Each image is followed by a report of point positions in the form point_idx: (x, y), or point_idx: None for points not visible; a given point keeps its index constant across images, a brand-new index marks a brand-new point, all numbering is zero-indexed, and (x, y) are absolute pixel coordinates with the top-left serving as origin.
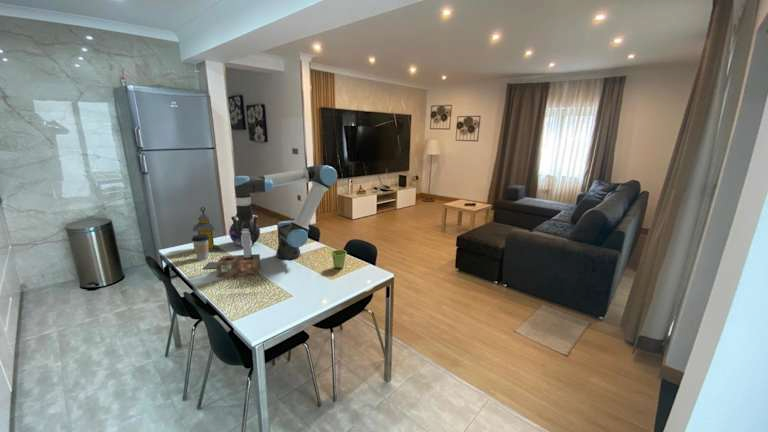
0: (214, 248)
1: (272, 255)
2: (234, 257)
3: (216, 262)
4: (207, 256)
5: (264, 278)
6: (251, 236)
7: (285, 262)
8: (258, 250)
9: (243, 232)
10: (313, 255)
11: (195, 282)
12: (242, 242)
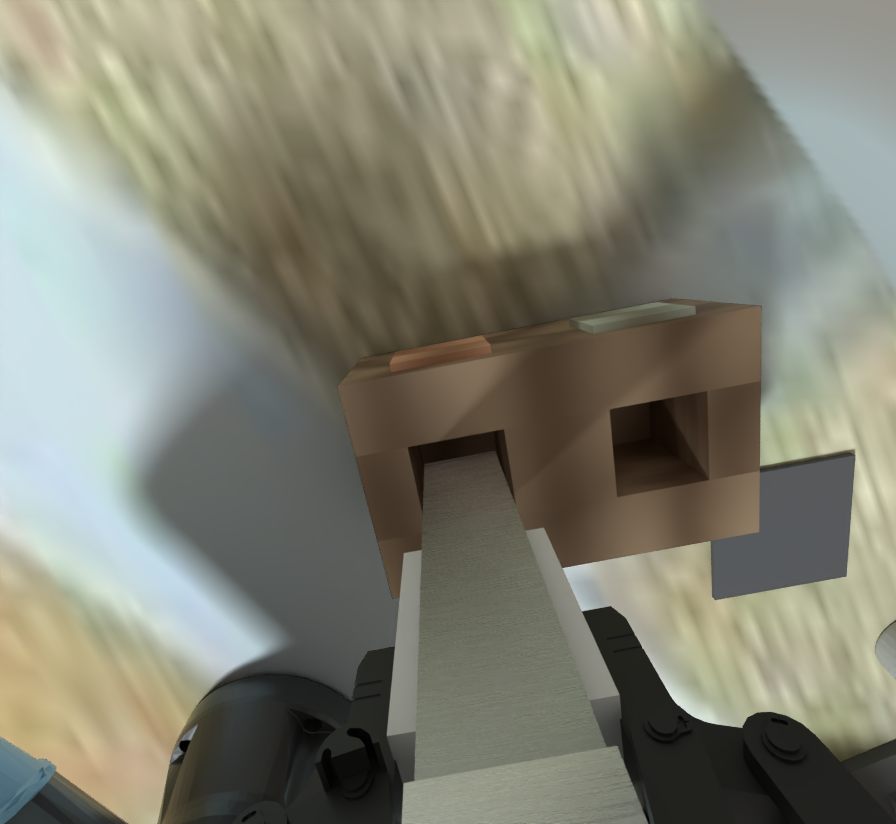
0: (887, 802)
1: None
2: (622, 496)
3: (785, 577)
4: (893, 660)
5: (257, 290)
6: (378, 718)
7: (238, 619)
8: None
9: (563, 778)
10: (78, 758)
11: (819, 184)
12: (546, 573)
